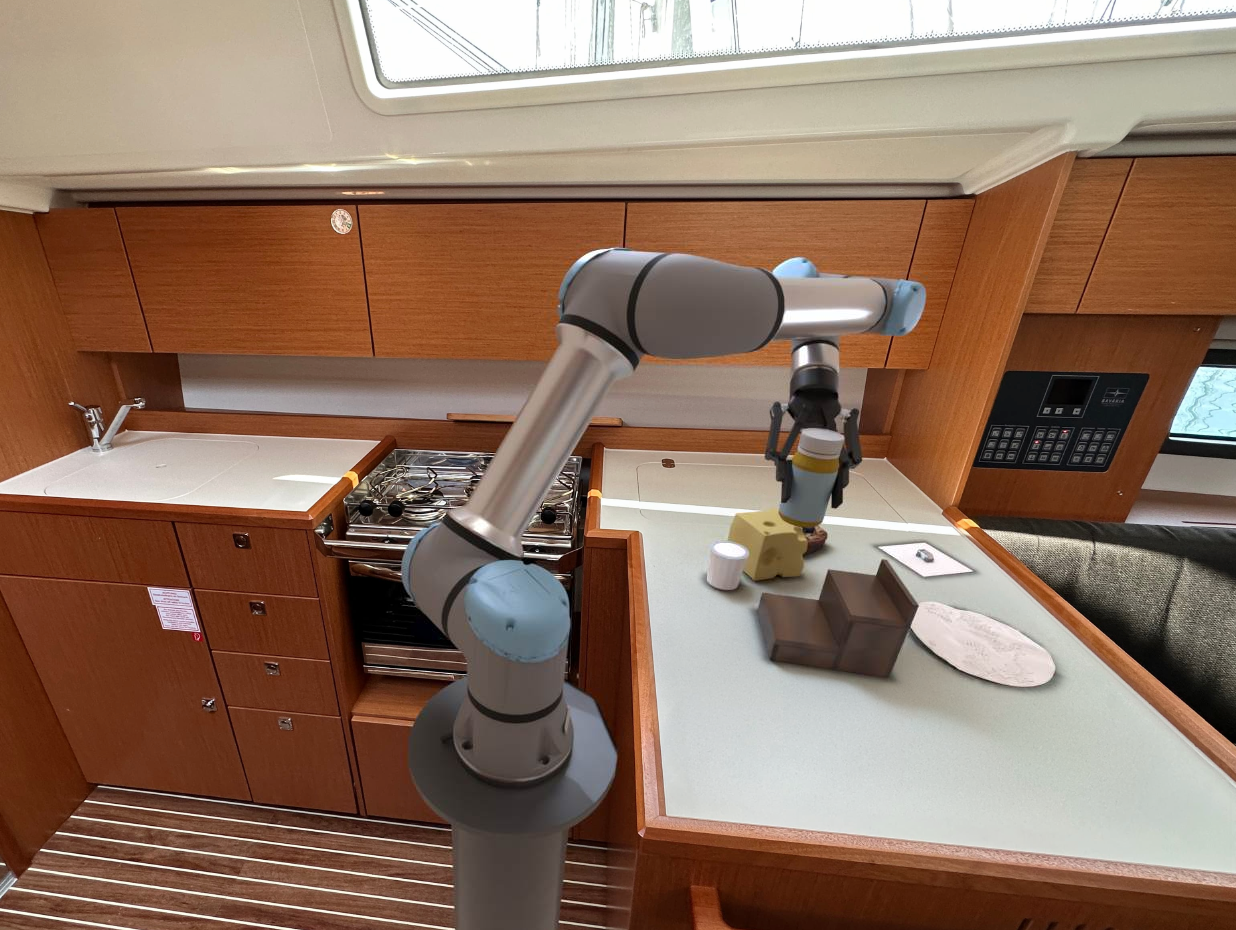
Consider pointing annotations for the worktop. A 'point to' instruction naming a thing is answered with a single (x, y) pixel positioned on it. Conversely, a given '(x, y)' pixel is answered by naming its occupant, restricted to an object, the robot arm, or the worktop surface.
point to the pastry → (814, 539)
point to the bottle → (812, 477)
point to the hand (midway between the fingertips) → (811, 502)
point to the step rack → (841, 623)
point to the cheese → (769, 544)
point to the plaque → (982, 646)
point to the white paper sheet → (925, 559)
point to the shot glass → (726, 564)
